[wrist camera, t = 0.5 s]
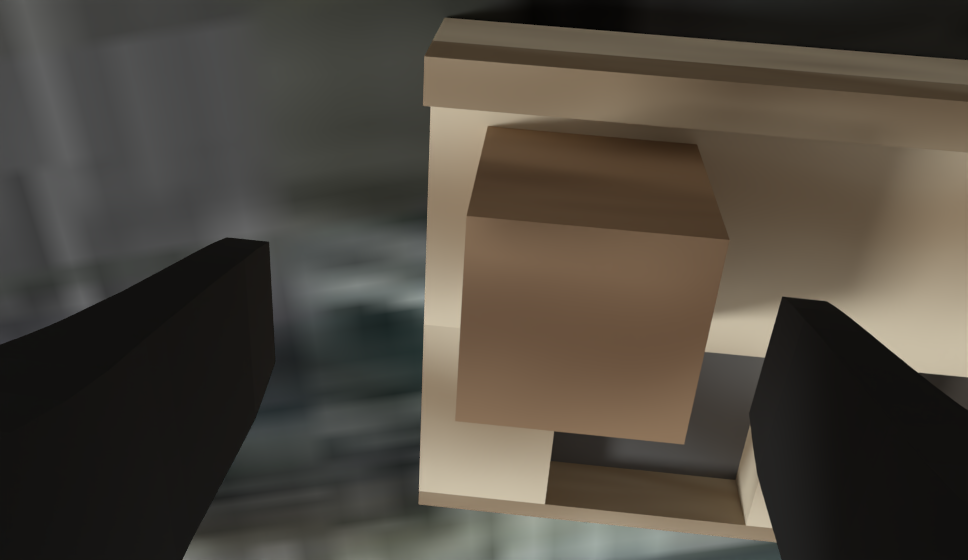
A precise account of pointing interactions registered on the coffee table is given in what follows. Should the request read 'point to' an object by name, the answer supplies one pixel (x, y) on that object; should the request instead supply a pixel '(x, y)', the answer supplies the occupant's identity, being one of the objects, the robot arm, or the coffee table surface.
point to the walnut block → (587, 284)
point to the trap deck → (751, 251)
